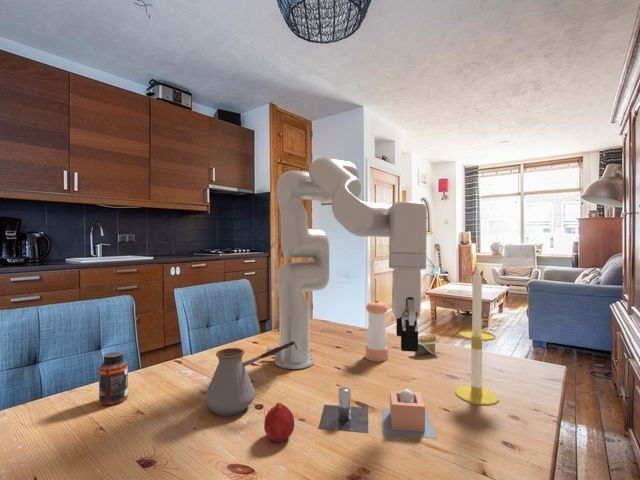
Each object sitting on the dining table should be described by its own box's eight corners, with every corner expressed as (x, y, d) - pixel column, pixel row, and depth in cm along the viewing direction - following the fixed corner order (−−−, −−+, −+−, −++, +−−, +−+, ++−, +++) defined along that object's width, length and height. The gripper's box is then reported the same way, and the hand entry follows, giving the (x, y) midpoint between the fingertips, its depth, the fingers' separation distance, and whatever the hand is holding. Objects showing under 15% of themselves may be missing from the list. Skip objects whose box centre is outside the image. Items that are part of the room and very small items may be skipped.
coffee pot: (198, 421, 73) (198, 351, 73) (210, 396, 84) (210, 336, 84) (298, 416, 75) (298, 349, 75) (296, 393, 86) (296, 334, 86)
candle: (470, 406, 80) (470, 268, 79) (447, 388, 89) (448, 264, 89) (508, 403, 81) (509, 267, 81) (482, 385, 91) (482, 264, 91)
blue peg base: (383, 438, 67) (383, 399, 67) (381, 413, 77) (381, 378, 77) (436, 443, 65) (436, 402, 65) (427, 416, 75) (427, 381, 75)
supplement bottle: (133, 397, 84) (133, 351, 84) (111, 408, 79) (111, 359, 78) (115, 393, 86) (115, 348, 86) (93, 404, 81) (93, 356, 80)
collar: (392, 429, 68) (392, 404, 68) (390, 413, 75) (390, 390, 75) (424, 431, 68) (425, 406, 67) (420, 415, 74) (420, 392, 74)
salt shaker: (391, 356, 113) (391, 299, 113) (382, 363, 107) (383, 302, 107) (371, 352, 117) (371, 297, 117) (361, 358, 111) (362, 300, 111)
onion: (265, 434, 68) (265, 394, 68) (294, 433, 69) (294, 393, 69) (262, 452, 62) (263, 409, 62) (294, 451, 63) (294, 408, 63)
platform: (460, 358, 113) (460, 338, 113) (414, 364, 107) (414, 344, 107) (437, 347, 124) (437, 329, 124) (394, 352, 119) (394, 333, 119)
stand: (318, 433, 69) (318, 399, 68) (324, 409, 78) (324, 378, 78) (368, 437, 67) (368, 402, 67) (368, 412, 77) (368, 381, 77)
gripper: (386, 258, 80) (385, 330, 80) (392, 264, 63) (391, 356, 63) (419, 258, 79) (418, 332, 79) (434, 265, 62) (433, 359, 62)
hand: (406, 343), depth 71 cm, fingers open, 9 cm apart
